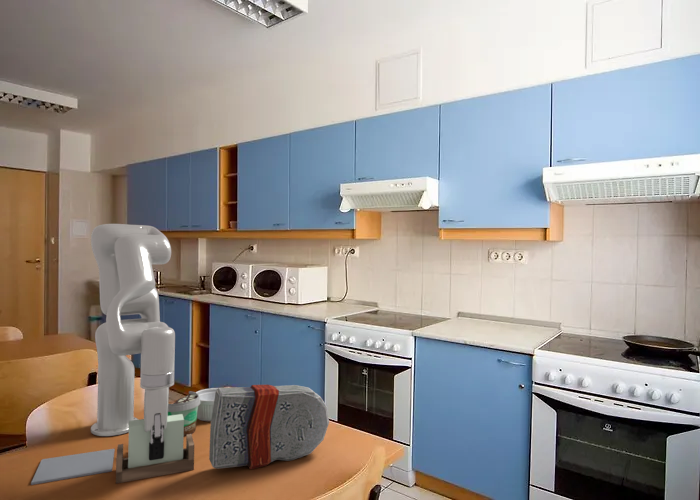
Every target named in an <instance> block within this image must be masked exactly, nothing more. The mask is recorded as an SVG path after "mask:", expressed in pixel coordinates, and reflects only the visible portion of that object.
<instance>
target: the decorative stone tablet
mask: <svg viewBox="0 0 700 500" xmlns="http://www.w3.org/2000/svg"><path fill="white" fill-rule="evenodd" d="M217 388H218V389H217V390H216V393H215V399H214V406H213V412H212V418H211V421H210V428H209V455H208V456H209V459H208V460H209V461H210V465H211V467H212V468H214V469H217V470H218V469H226V468H235V467H236V468H237V467H243V466H244V467H246V466H247V467H248V468H249V470H254V469H258V468H262V467H267V466H268V465H269V464H271V463H273V462H274V461H294V460H297V459H299V458H303V457H304V456H308V455H310V454H312V453H313V452H314V450H315V449H316V448H317V447H318V446H319V445H320V444H322V442H323V441H324V439H325V436H326V434H327V431H328V427H329V425H330V419H329V411H328V405H326V403H325V401H324V400H323V398H322V397H321V396H320V395H319V394H318V393H316V392H315V391H314V390H313V389H311V388H310V387H307V386H301V385H296V384H292V385H272V384H271V385H270V384H252V385H251V386H246V387H245V386H240V387H239V386H238V387H236V386H235V387H217Z"/></svg>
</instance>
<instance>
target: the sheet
mask: <svg viewBox="0 0 700 500" xmlns="http://www.w3.org/2000/svg"><path fill="white" fill-rule="evenodd" d="M154 420H155V418H154ZM161 426H162V425H161ZM161 426H160V428H161ZM152 429H155V427H153V426H152ZM150 431H151V430H150ZM150 431H147V432H145V431H144V418H141V419H138V420H132V421H129V432H128V447H127V450H128V452H127V453H128V454H127V456H128V457H127V458H128V468H134V467H140V466H146V465H152V464H158V463H164V462H170V461H176V460H182V459H183V449H184V438H185V437H184V418H183V414H179V415H171V416H168V417H167V427H166V429H165V430H164V429H163V441H164V457H163V458H162V459H156V460H149V443H150V441H151V432H150ZM154 434H155V432H154V433H153V435H154ZM160 434H161V432H160Z"/></svg>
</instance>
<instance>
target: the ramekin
mask: <svg viewBox="0 0 700 500" xmlns="http://www.w3.org/2000/svg"><path fill="white" fill-rule="evenodd" d="M218 388H219V387H211V388H205V389H200V390H198V391H196V392H195V393H197V394H198V395H199V397H200V404H199V405H198V410H197V420H199V421H203V422H211V418H212V412H213V406H214V399H215V393H216V390H217V389H218Z"/></svg>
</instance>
